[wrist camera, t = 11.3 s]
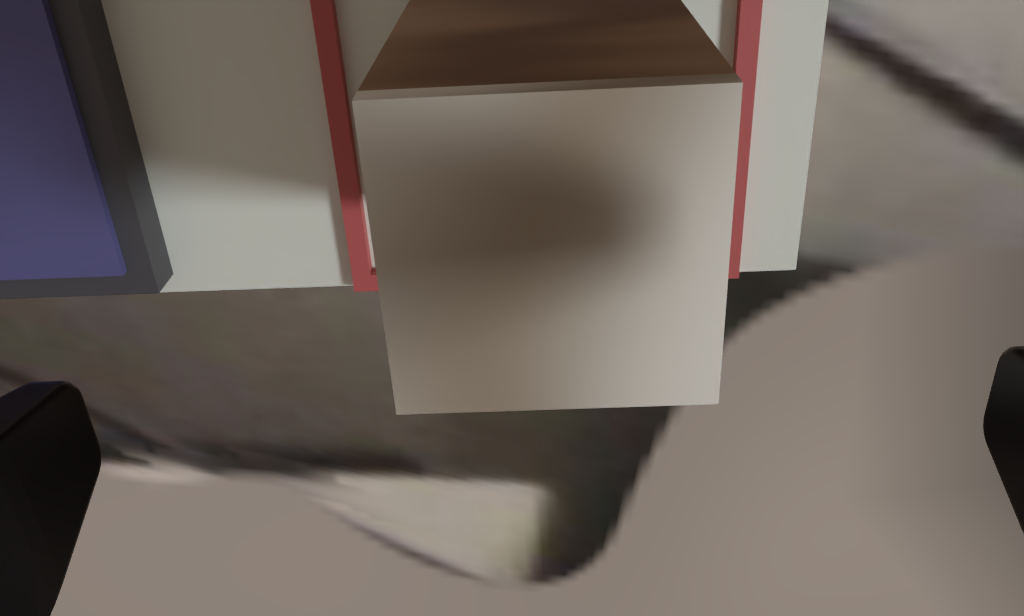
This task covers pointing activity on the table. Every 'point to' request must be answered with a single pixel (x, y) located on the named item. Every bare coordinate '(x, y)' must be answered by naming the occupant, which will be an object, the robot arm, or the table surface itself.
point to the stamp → (550, 203)
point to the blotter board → (285, 140)
